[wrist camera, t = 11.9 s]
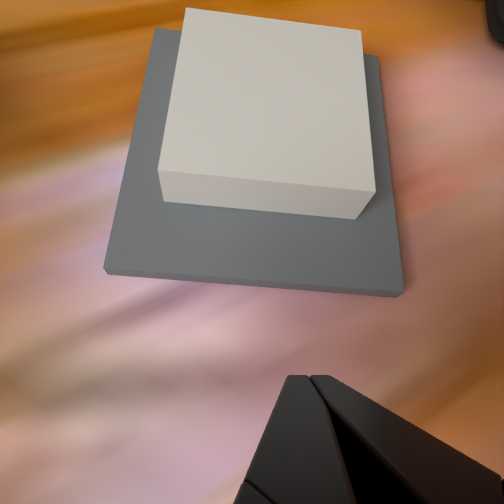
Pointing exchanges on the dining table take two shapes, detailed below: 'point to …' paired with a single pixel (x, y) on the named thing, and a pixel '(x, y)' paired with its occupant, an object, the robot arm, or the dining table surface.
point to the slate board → (248, 215)
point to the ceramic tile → (268, 118)
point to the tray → (496, 18)
